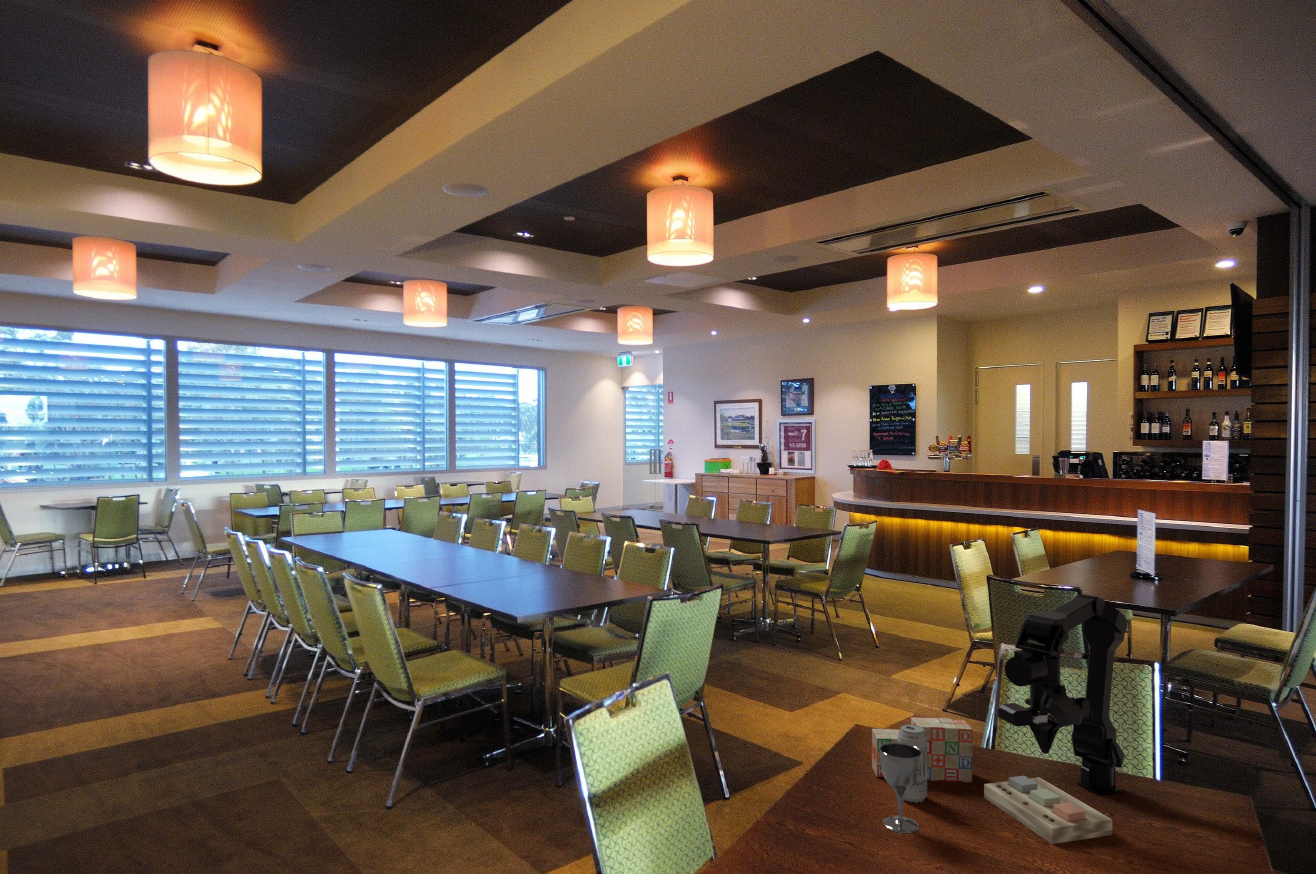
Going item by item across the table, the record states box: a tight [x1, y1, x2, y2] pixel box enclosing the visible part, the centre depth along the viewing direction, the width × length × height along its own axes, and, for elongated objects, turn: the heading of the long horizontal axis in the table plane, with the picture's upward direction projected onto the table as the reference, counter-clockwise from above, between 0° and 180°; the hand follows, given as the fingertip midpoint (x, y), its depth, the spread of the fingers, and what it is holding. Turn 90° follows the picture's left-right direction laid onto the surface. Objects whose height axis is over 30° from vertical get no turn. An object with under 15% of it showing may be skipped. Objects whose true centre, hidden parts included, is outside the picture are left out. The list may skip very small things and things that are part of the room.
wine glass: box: [880, 743, 921, 834], centre depth 158 cm, size 8×8×15 cm
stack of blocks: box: [871, 717, 974, 783], centre depth 182 cm, size 21×6×12 cm, turn 84°
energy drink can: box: [898, 723, 928, 804], centre depth 170 cm, size 6×6×15 cm
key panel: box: [983, 776, 1113, 845], centre depth 162 cm, size 14×20×3 cm
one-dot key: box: [1030, 789, 1060, 807], centre depth 162 cm, size 4×4×2 cm
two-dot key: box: [1053, 802, 1085, 822], centre depth 156 cm, size 4×4×2 cm
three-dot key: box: [1008, 775, 1038, 793], centre depth 168 cm, size 4×4×2 cm
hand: (1045, 753), depth 162 cm, fingers closed
